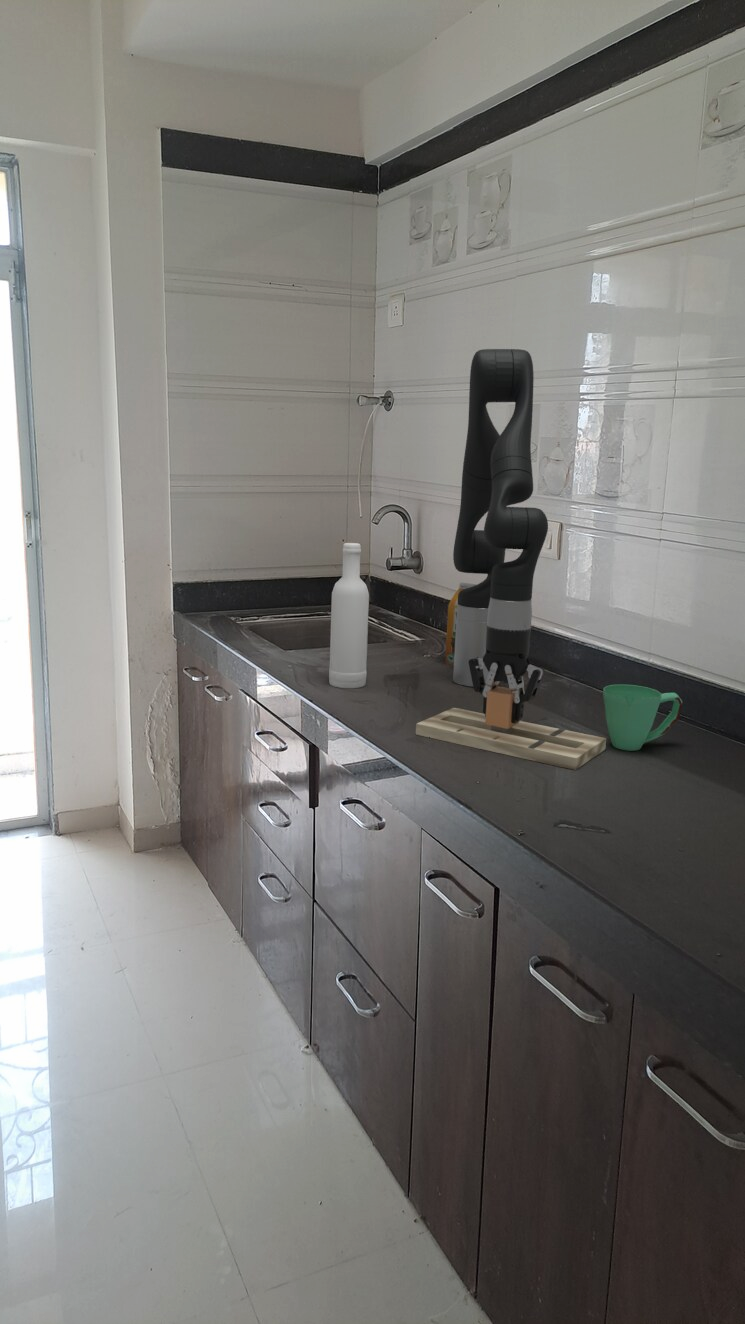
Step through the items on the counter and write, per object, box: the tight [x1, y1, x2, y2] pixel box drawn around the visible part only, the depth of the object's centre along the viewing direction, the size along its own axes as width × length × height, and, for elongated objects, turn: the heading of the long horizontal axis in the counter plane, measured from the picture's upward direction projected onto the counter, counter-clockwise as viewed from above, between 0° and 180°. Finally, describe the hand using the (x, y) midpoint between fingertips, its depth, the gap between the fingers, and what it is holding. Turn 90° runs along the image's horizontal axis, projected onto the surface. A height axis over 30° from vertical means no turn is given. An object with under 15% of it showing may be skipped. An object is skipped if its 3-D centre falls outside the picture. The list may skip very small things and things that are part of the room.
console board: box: [415, 707, 607, 771], centre depth 167 cm, size 14×30×2 cm, turn 57°
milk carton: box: [444, 581, 478, 666], centre depth 227 cm, size 10×11×19 cm
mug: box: [602, 684, 683, 752], centre depth 167 cm, size 15×10×10 cm
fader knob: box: [485, 685, 519, 735], centre depth 167 cm, size 4×4×9 cm
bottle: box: [328, 542, 370, 689], centre depth 200 cm, size 8×8×30 cm
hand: (502, 719), depth 167 cm, fingers closed on fader knob, 4 cm apart
